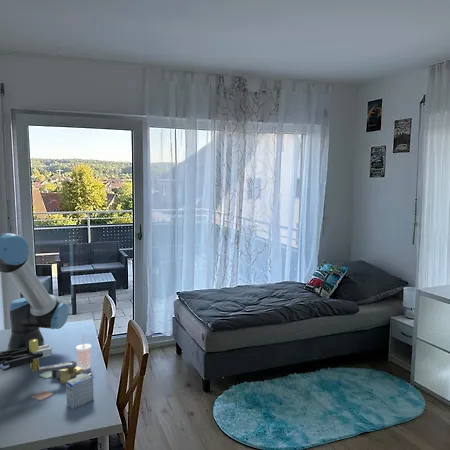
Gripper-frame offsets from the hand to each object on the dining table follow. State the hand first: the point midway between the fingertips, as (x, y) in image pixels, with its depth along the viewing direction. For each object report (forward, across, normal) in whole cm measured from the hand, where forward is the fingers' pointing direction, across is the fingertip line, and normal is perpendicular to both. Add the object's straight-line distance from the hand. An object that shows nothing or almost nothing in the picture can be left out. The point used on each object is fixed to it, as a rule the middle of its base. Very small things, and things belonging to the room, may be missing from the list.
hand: (49, 349), depth 157 cm
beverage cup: (+15, -6, -13) cm, 21 cm away
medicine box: (+4, +21, -14) cm, 25 cm away
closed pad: (-5, +8, -13) cm, 16 cm away
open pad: (+1, -8, -13) cm, 15 cm away
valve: (+7, +4, -13) cm, 15 cm away
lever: (+1, +2, -7) cm, 7 cm away
